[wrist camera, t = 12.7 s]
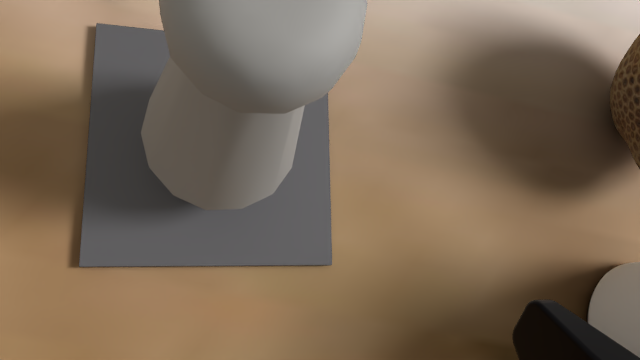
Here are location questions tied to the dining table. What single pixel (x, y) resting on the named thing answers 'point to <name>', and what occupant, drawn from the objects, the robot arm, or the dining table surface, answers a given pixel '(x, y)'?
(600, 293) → the can
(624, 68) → the natural sponge
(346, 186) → the dining table surface
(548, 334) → the robot arm
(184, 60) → the salt shaker
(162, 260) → the charcoal mat
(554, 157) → the dining table surface
